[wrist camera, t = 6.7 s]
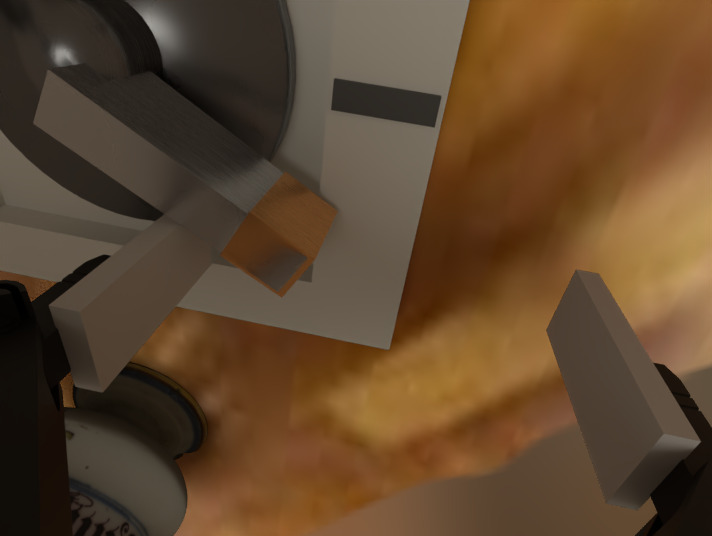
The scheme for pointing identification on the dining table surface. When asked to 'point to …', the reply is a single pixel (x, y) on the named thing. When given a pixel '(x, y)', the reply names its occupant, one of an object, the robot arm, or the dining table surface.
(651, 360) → the robot arm
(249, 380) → the dining table surface
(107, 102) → the dial
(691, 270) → the dining table surface
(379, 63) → the panel
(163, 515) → the apothecary jar
